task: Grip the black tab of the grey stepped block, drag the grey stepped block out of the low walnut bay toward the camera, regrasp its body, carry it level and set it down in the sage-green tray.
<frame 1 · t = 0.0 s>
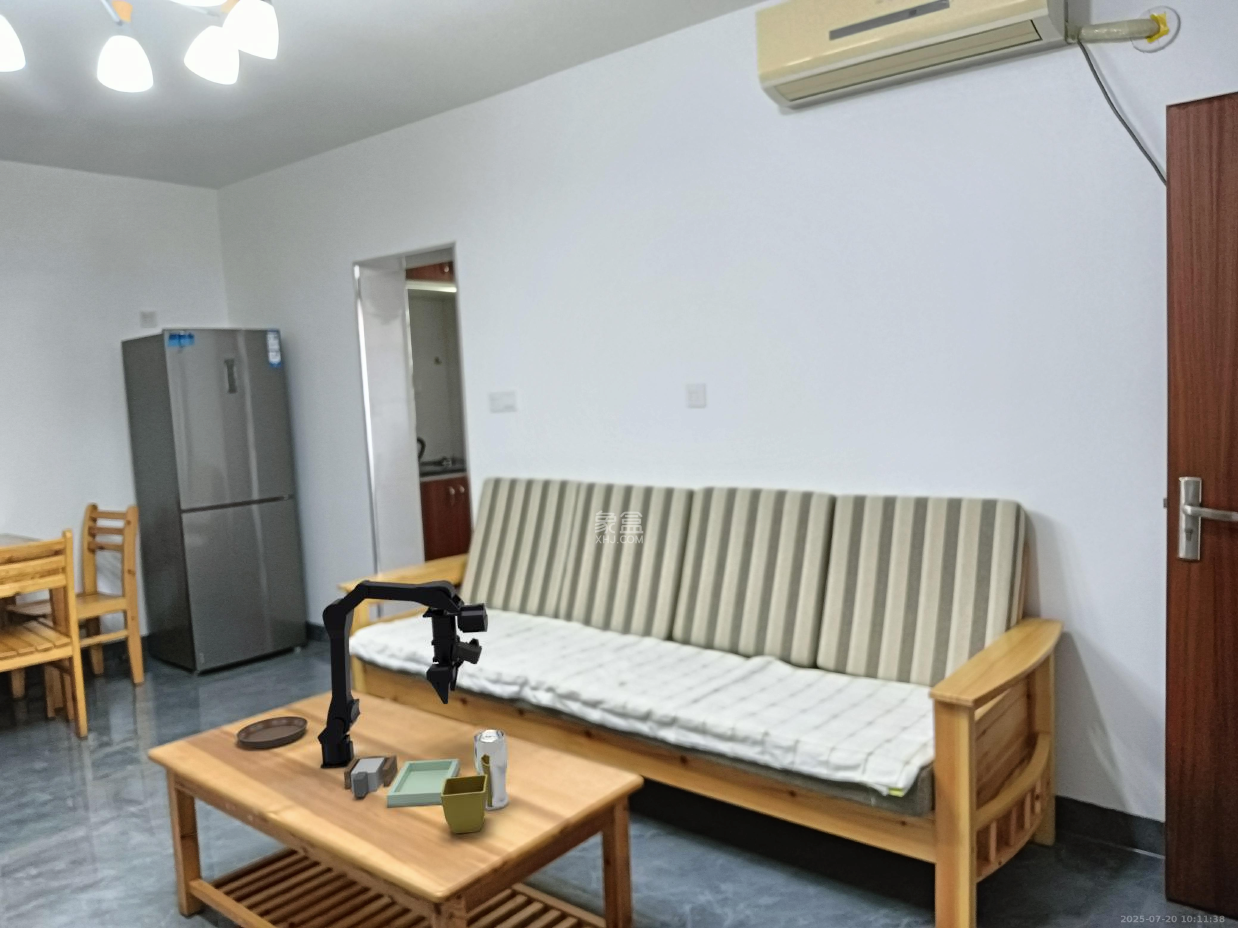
hand: (449, 697, 220), 15 cm above the table, fingers open, 9 cm apart
grey stepped block: (369, 784, 208), on the table
tray: (425, 787, 204), on the table
bay: (369, 783, 208), on the table
flower pot: (467, 828, 184), on the table
plant saucer: (273, 739, 241), on the table
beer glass: (494, 804, 194), on the table
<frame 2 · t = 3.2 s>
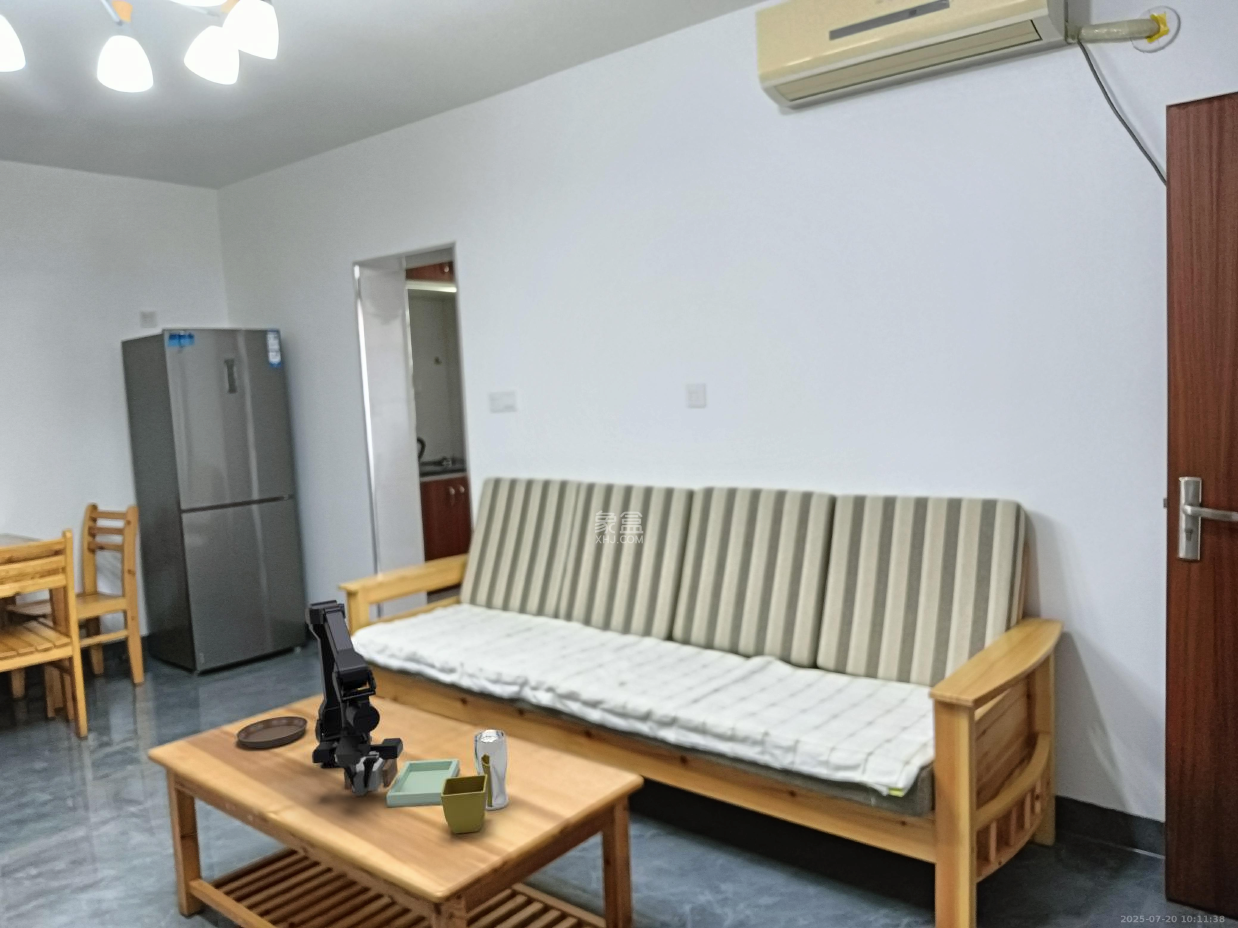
hand: (361, 787, 202), 2 cm above the table, fingers closed on grey stepped block, 2 cm apart
grey stepped block: (369, 782, 209), on the table, touching gripper
everything else where it was.
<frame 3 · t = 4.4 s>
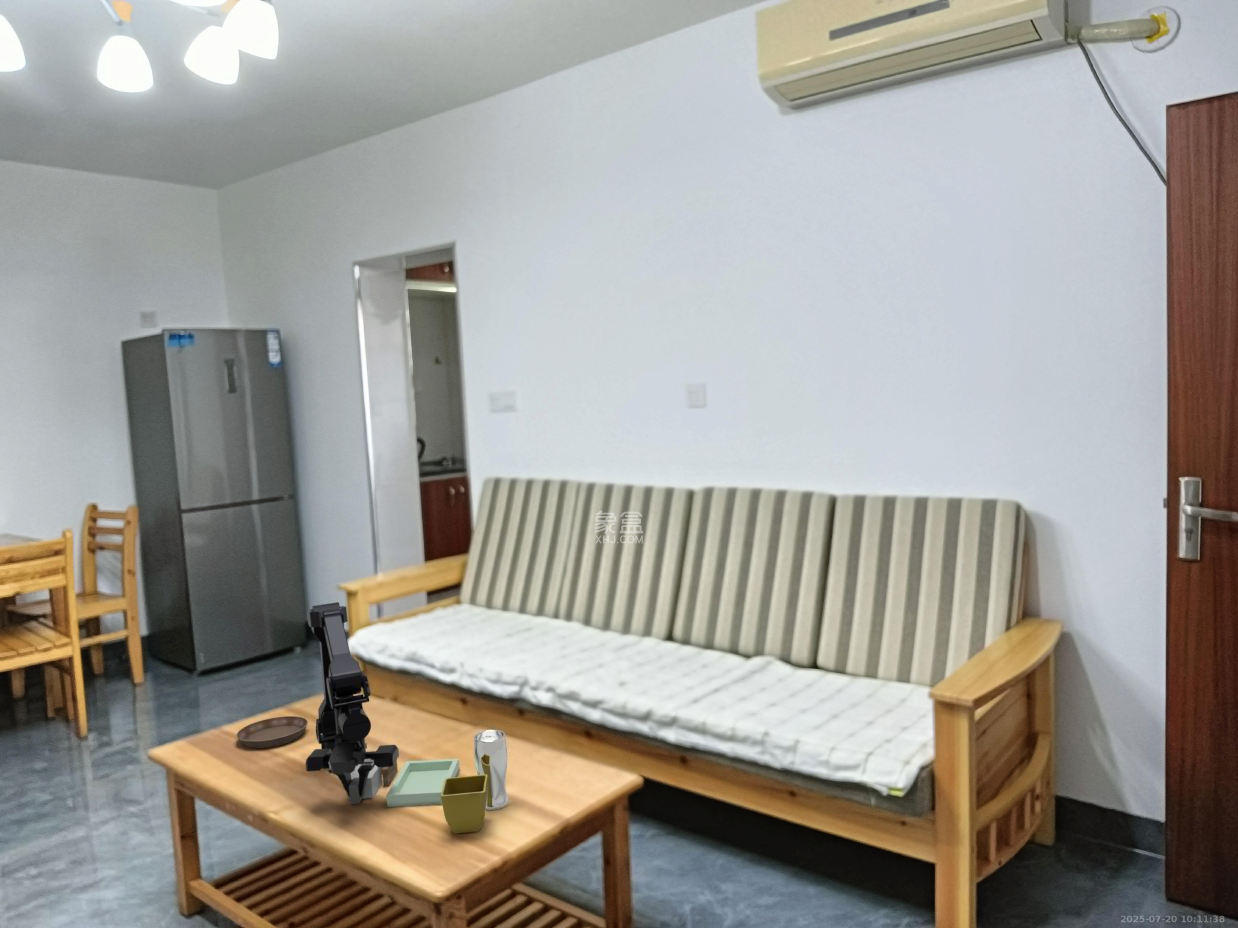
hand: (355, 795, 198), 2 cm above the table, fingers closed, pressing on grey stepped block
grey stepped block: (365, 790, 205), on the table, touching gripper
everything else where it was.
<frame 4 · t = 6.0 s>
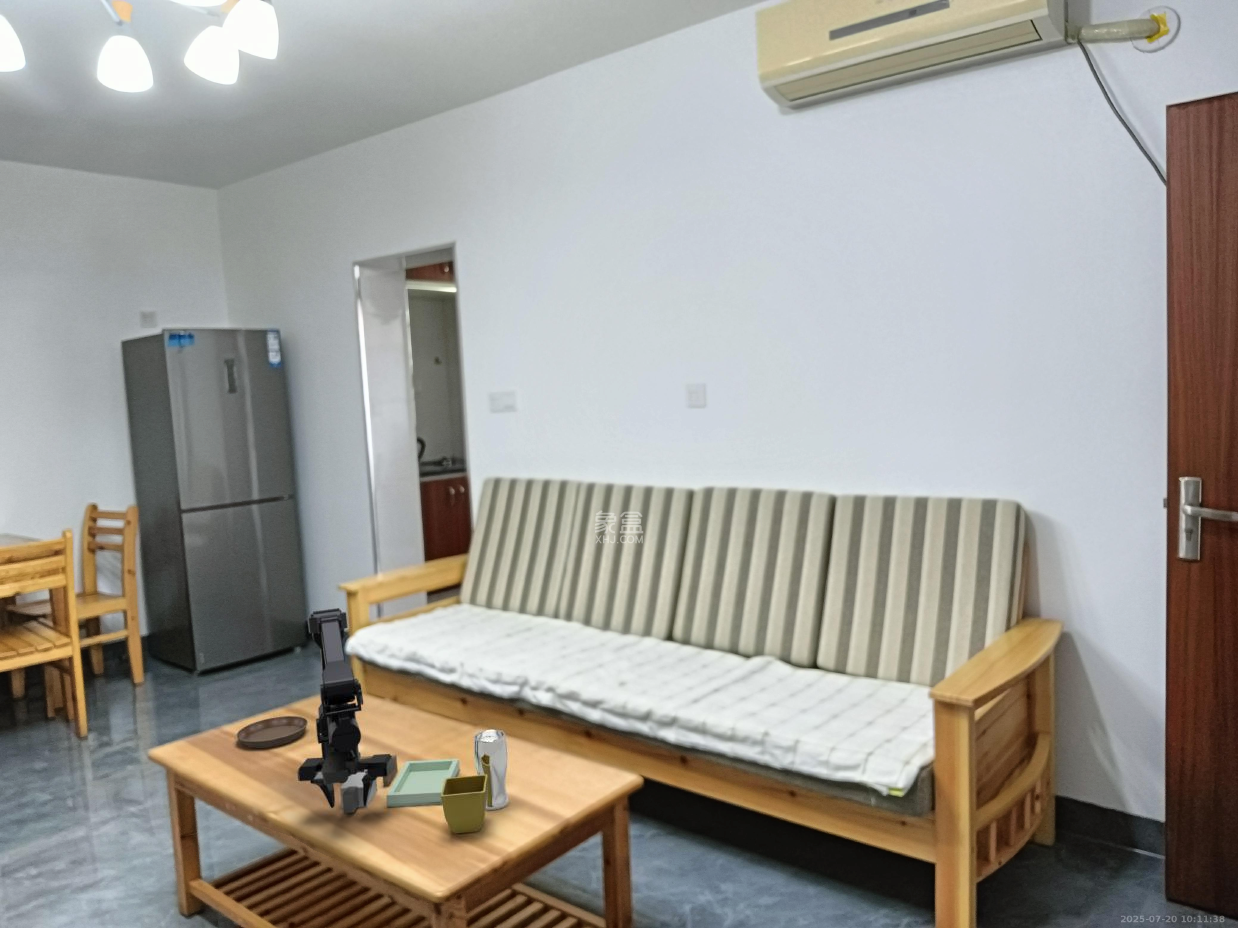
hand: (349, 806, 193), 2 cm above the table, fingers open, 7 cm apart
grey stepped block: (359, 799, 200), on the table
everything else where it was.
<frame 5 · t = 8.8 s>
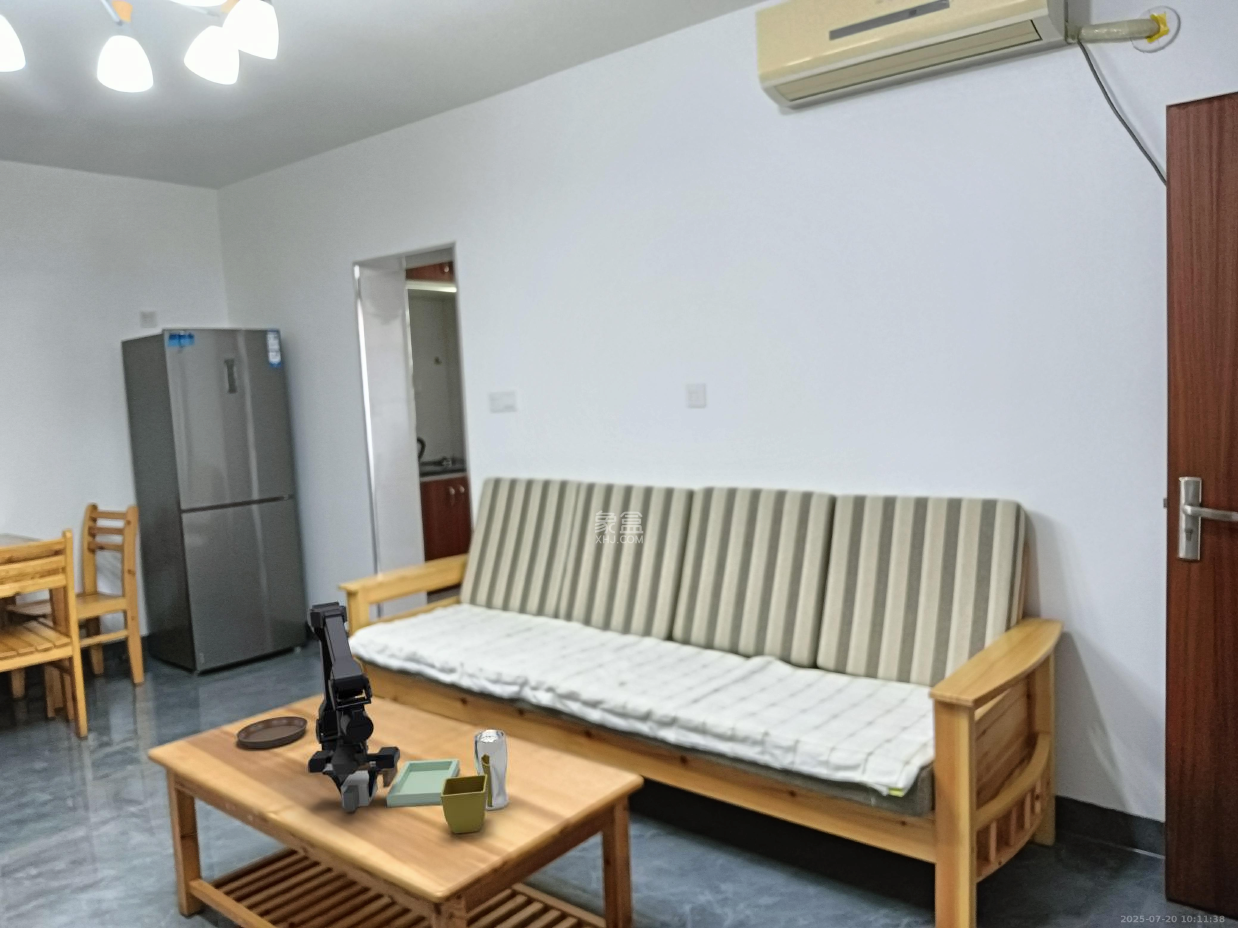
hand: (357, 797, 199), 1 cm above the table, fingers closed on grey stepped block, 5 cm apart
grey stepped block: (360, 797, 201), on the table, touching gripper
everything else where it was.
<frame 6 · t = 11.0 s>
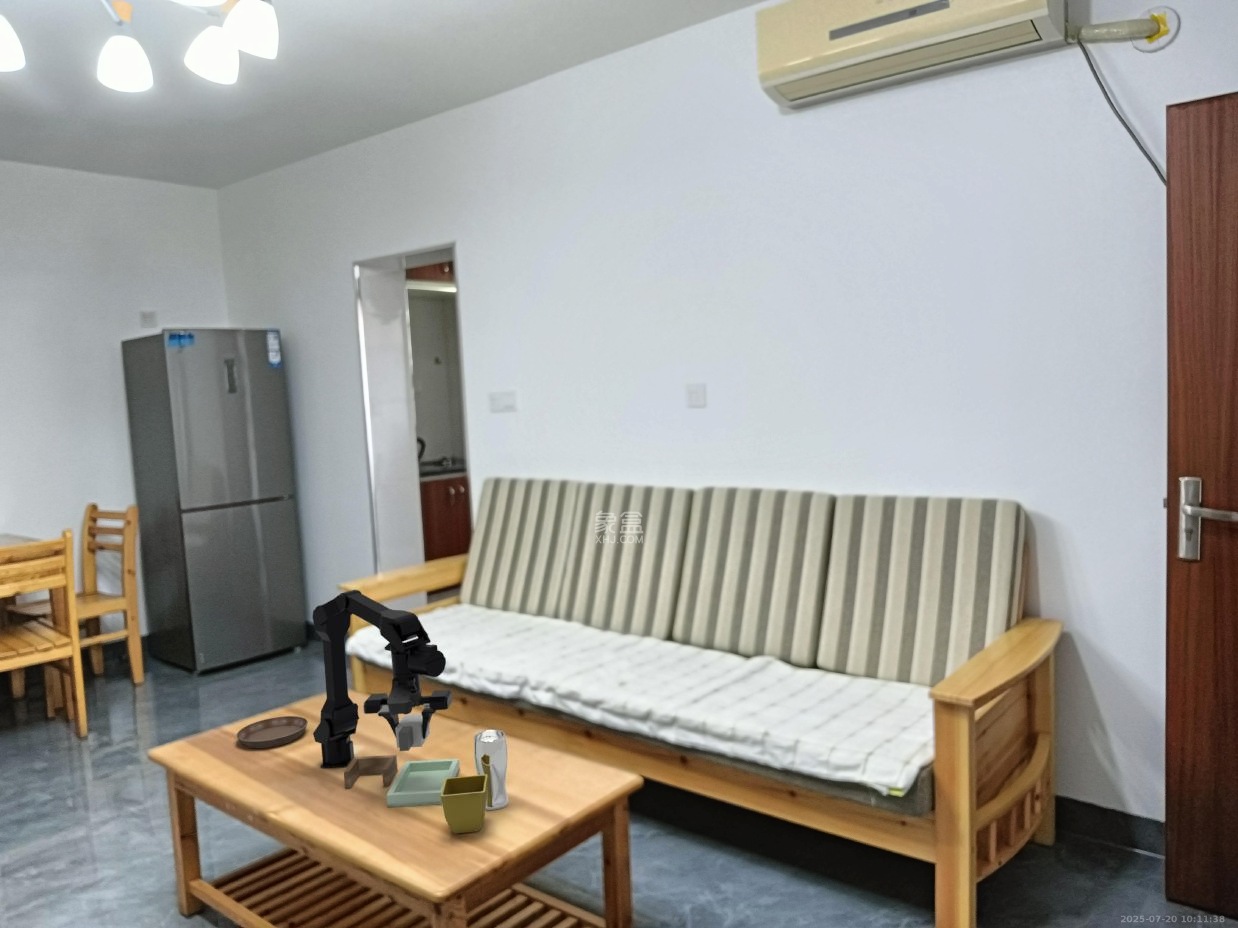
hand: (411, 738, 204), 11 cm above the table, fingers closed on grey stepped block, 5 cm apart
grey stepped block: (413, 740, 206), point 10 cm above the table, touching gripper
everything else where it was.
when the fingers open (3 cm above the table, at t = 13.1 s): grey stepped block stays where it is, resting on tray.
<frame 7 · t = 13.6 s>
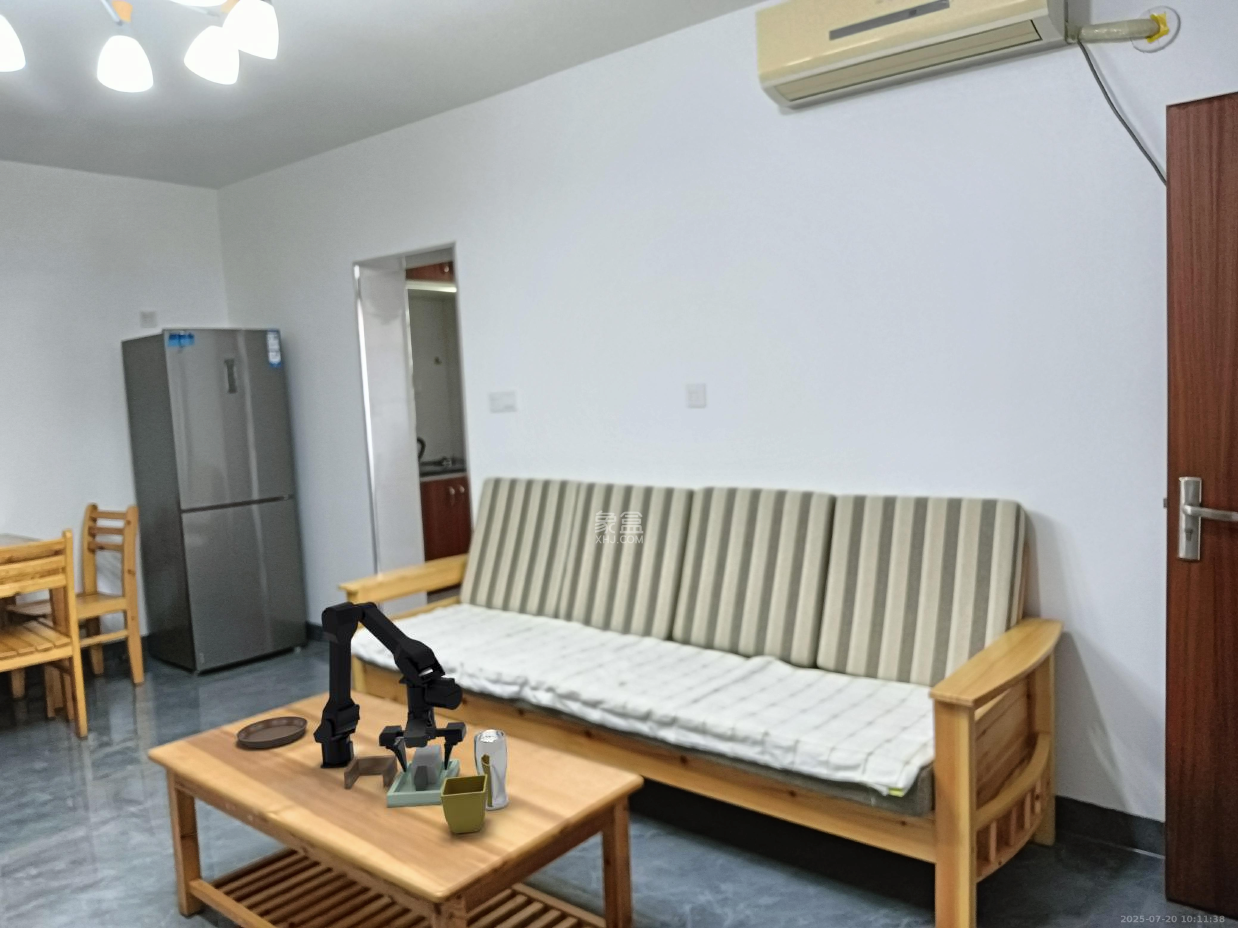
hand: (425, 770, 206), 3 cm above the table, fingers open, 9 cm apart
grey stepped block: (428, 772, 208), point 2 cm above the table, tilted 14°, touching tray
everything else where it was.
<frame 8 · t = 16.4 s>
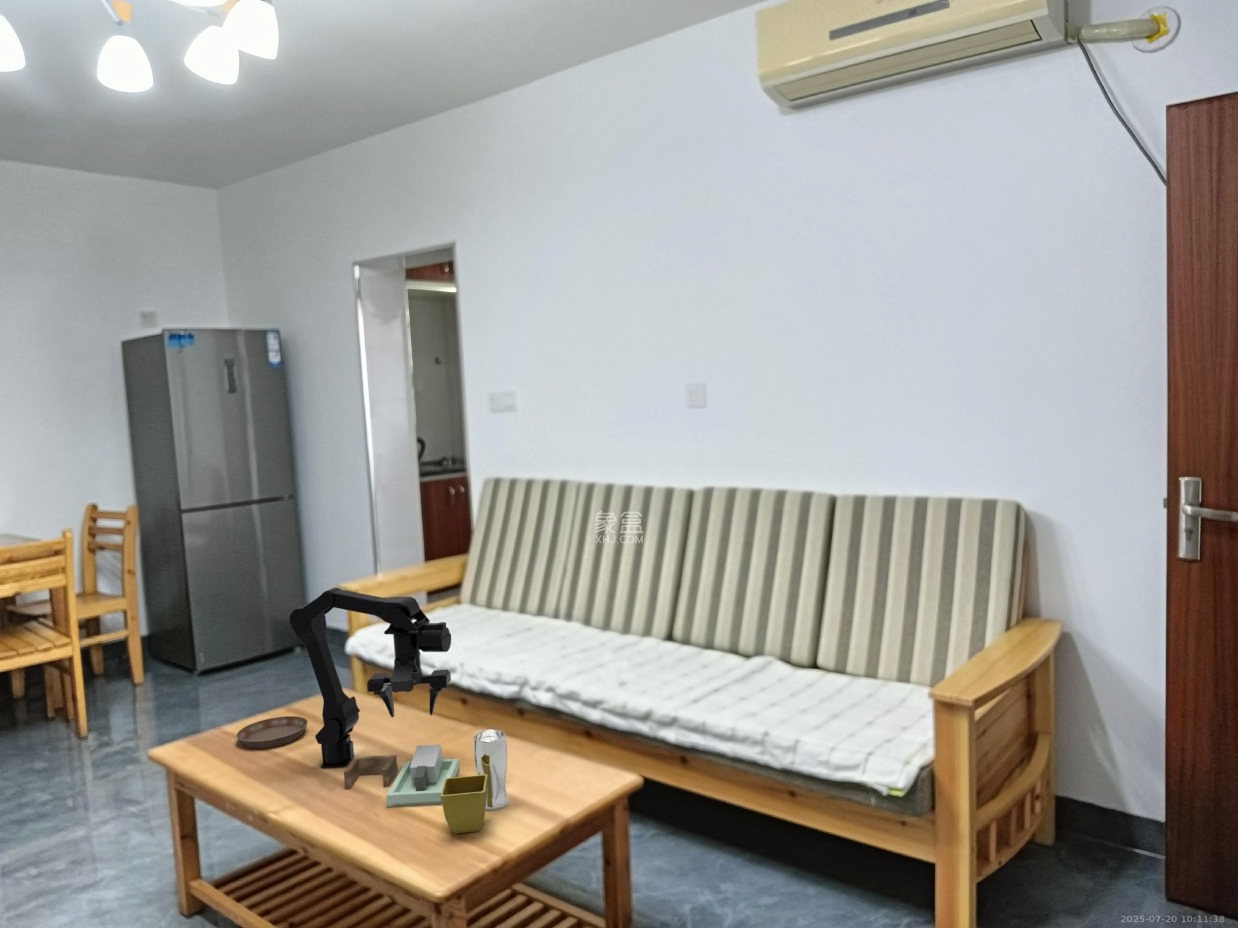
hand: (412, 715, 216), 12 cm above the table, fingers open, 9 cm apart
nothing on the table moved.
at the end: grey stepped block inside the target area on the tray (2.5 cm from its centre), point 1.7 cm above the tray's base; grey stepped block tilted 14°; the gripper is holding nothing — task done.
